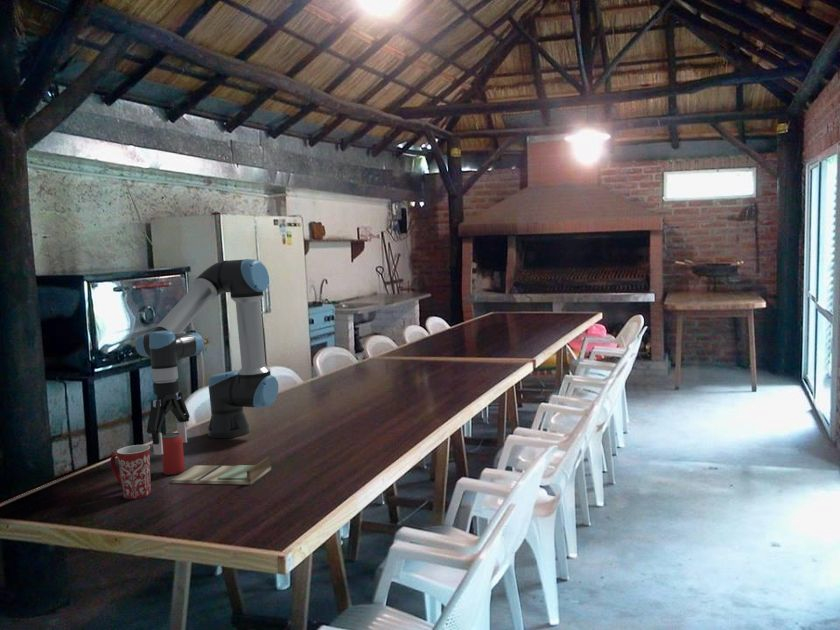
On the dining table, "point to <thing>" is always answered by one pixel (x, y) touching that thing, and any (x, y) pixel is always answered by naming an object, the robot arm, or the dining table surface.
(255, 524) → the dining table surface
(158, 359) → the robot arm
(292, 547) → the dining table surface
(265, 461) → the beige green bent panel
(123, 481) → the mug
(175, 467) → the beer can
